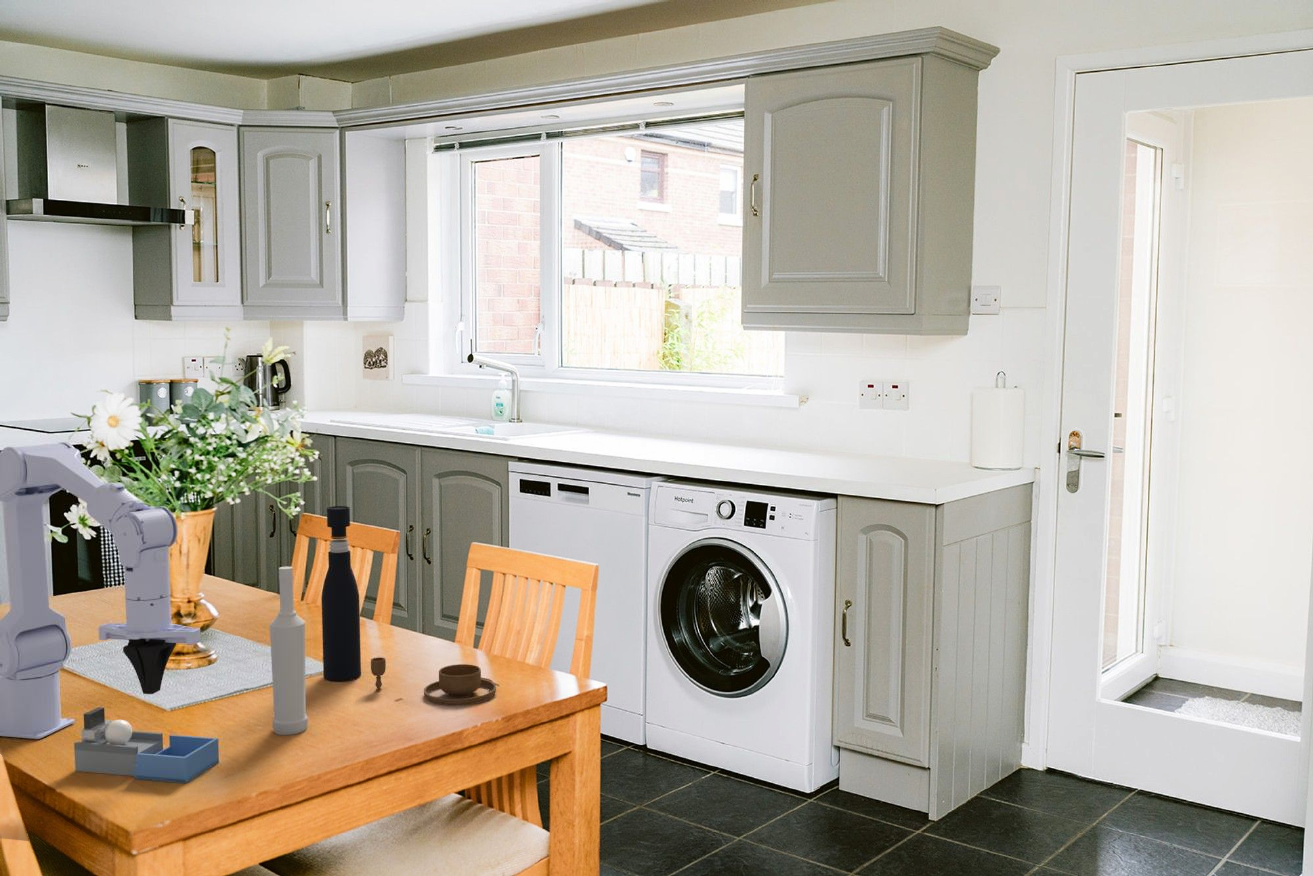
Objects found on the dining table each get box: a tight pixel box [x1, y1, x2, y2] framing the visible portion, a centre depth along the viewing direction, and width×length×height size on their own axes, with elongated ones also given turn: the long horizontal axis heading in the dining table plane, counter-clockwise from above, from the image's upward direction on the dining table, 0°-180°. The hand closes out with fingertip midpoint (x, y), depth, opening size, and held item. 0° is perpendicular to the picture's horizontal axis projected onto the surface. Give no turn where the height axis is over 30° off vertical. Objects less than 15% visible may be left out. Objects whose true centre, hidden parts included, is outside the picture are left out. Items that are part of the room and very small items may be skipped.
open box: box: [133, 734, 220, 784], centre depth 162 cm, size 8×8×4 cm
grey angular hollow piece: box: [80, 706, 114, 744], centre depth 164 cm, size 2×4×4 cm, turn 168°
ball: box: [105, 719, 133, 745], centre depth 163 cm, size 4×4×4 cm
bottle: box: [269, 565, 309, 736], centre depth 177 cm, size 5×5×25 cm
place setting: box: [370, 656, 500, 706], centre depth 198 cm, size 18×20×6 cm
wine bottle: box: [321, 505, 362, 683], centre depth 204 cm, size 6×6×30 cm
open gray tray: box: [73, 730, 164, 777], centre depth 163 cm, size 10×6×4 cm, turn 78°
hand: (151, 692), depth 163 cm, fingers closed
